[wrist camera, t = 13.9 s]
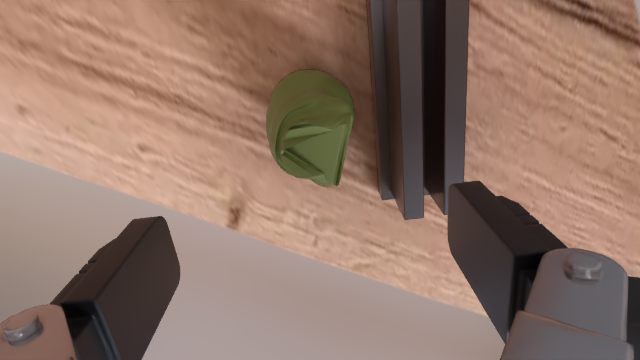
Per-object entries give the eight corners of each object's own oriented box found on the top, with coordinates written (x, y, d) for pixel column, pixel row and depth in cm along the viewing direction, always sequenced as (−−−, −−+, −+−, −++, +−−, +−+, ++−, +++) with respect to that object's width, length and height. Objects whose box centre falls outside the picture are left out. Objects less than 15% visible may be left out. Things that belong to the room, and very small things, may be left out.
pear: (277, 56, 25) (260, 80, 16) (357, 71, 26) (386, 103, 17) (266, 138, 27) (245, 201, 18) (340, 151, 28) (357, 218, 19)
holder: (447, -28, 24) (485, -39, 19) (445, 183, 29) (474, 219, 24) (365, -17, 24) (381, -26, 19) (378, 191, 29) (393, 228, 24)
